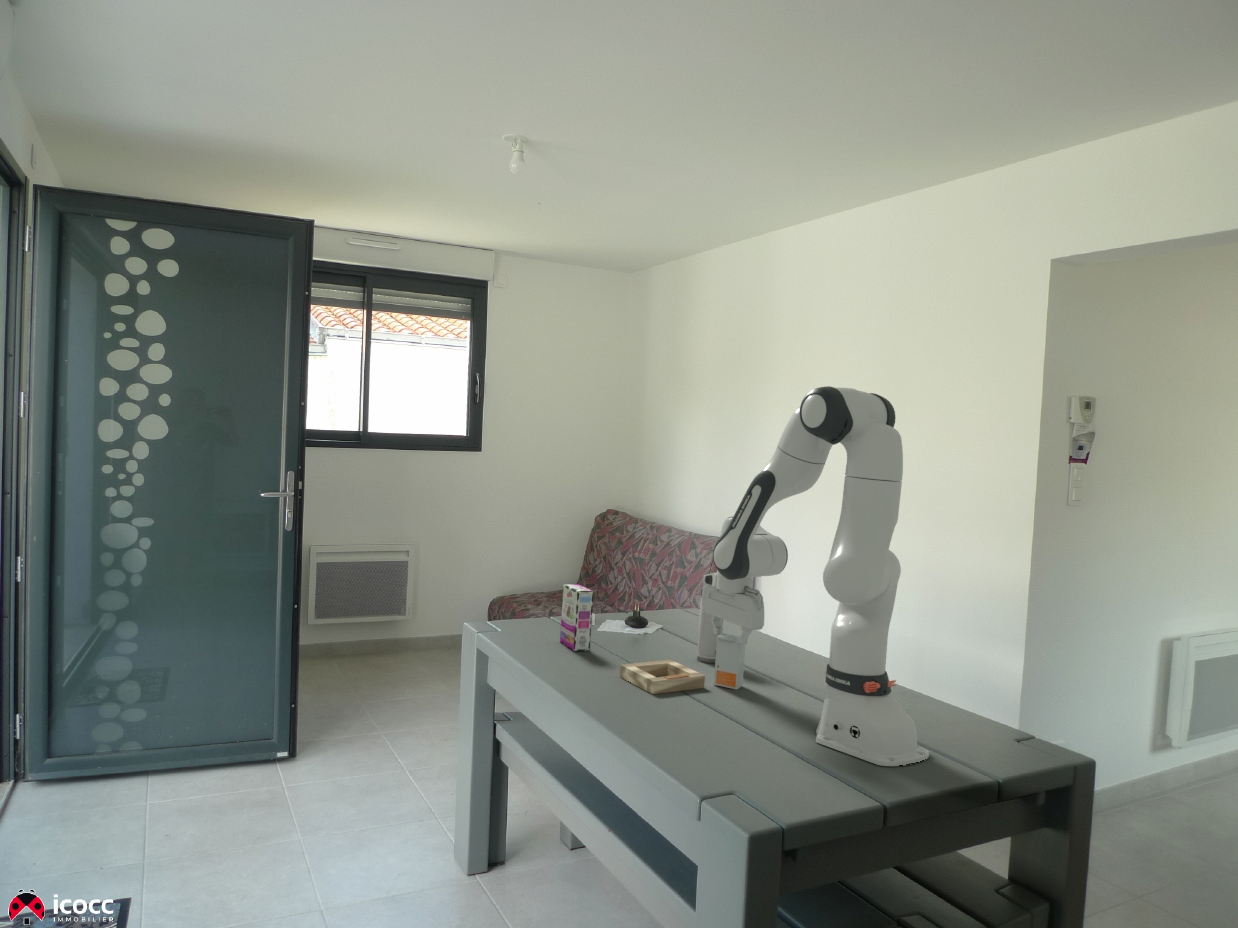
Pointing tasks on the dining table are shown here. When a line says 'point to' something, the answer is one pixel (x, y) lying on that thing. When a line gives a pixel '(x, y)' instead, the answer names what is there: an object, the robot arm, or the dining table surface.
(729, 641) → the skincare box
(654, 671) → the frame
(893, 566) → the robot arm
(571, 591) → the candy bar box
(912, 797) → the dining table surface
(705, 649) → the travel mug
